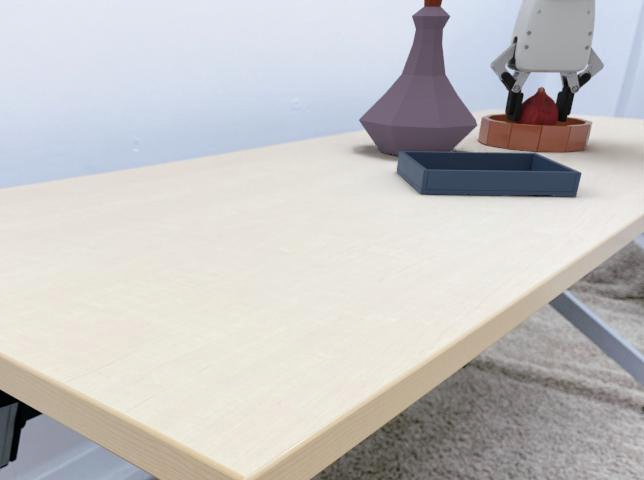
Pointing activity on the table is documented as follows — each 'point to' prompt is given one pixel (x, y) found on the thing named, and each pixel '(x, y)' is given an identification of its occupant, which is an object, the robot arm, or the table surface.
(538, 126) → the bowl
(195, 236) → the table surface
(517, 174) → the tray
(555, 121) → the onion
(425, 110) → the flask
